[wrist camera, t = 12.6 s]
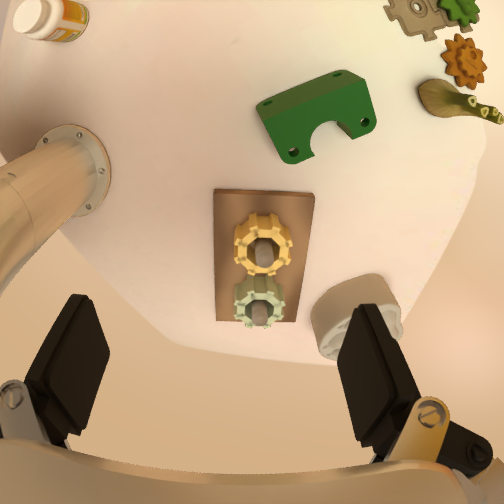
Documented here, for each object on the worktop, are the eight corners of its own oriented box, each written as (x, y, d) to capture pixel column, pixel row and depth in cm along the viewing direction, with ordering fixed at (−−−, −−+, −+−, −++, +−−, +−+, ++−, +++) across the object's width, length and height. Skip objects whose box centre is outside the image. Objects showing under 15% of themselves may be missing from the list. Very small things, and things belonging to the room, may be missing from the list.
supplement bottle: (68, -1, 23) (24, -13, 14) (97, 10, 24) (56, -4, 16) (47, 35, 25) (0, 33, 17) (75, 47, 27) (30, 45, 18)
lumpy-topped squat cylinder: (390, 312, 49) (408, 349, 41) (319, 339, 51) (329, 379, 44) (381, 266, 44) (403, 303, 36) (301, 297, 46) (310, 339, 39)
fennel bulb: (407, 91, 31) (465, 103, 20) (428, 67, 29) (489, 73, 19) (433, 123, 33) (492, 147, 22) (453, 100, 31) (514, 117, 20)
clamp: (284, 129, 38) (270, 171, 33) (265, 90, 34) (246, 125, 29) (375, 110, 32) (382, 151, 27) (361, 65, 28) (368, 96, 23)
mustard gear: (235, 211, 37) (234, 224, 34) (291, 213, 38) (295, 226, 34) (234, 259, 41) (233, 275, 38) (285, 260, 41) (289, 276, 38)
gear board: (216, 314, 48) (213, 347, 42) (214, 189, 37) (209, 212, 31) (294, 315, 48) (300, 348, 42) (312, 193, 38) (325, 217, 32)
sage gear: (233, 310, 45) (233, 328, 42) (234, 273, 42) (233, 289, 39) (279, 311, 46) (281, 328, 42) (284, 274, 42) (287, 290, 39)
